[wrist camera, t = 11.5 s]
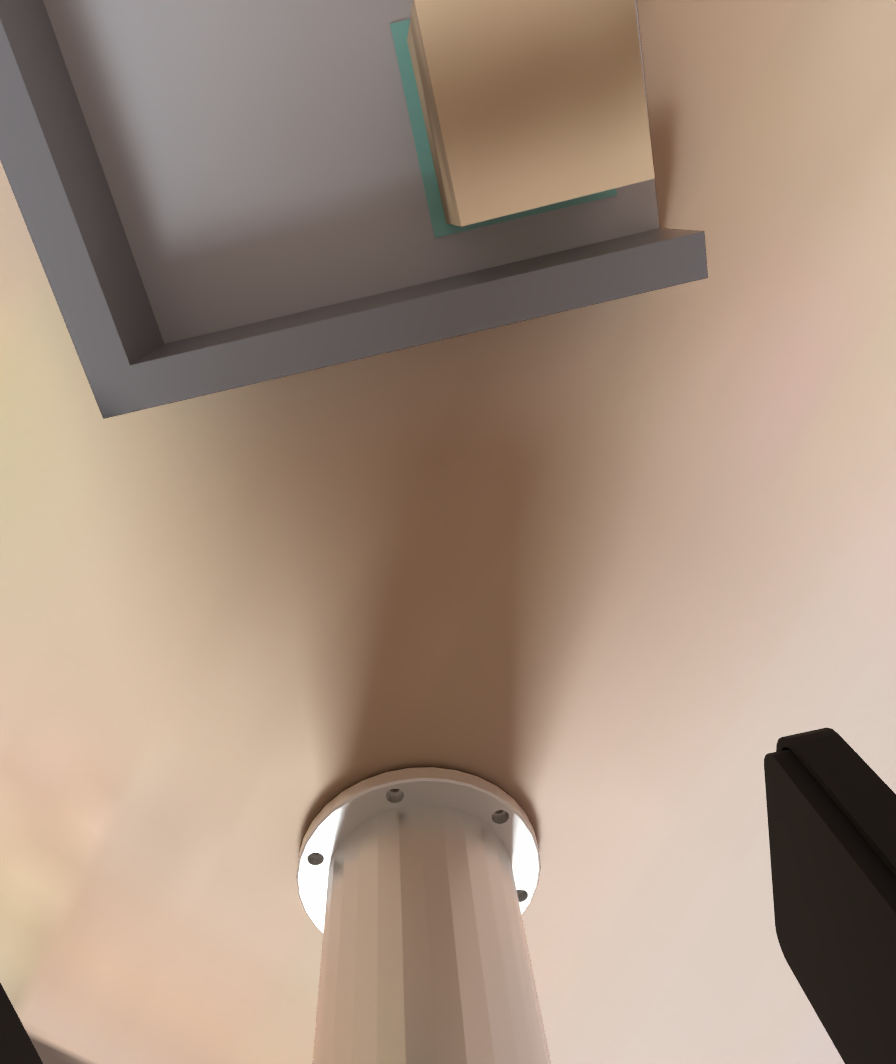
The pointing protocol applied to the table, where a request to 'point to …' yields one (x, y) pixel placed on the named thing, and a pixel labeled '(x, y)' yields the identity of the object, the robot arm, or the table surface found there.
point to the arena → (272, 197)
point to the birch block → (529, 101)
